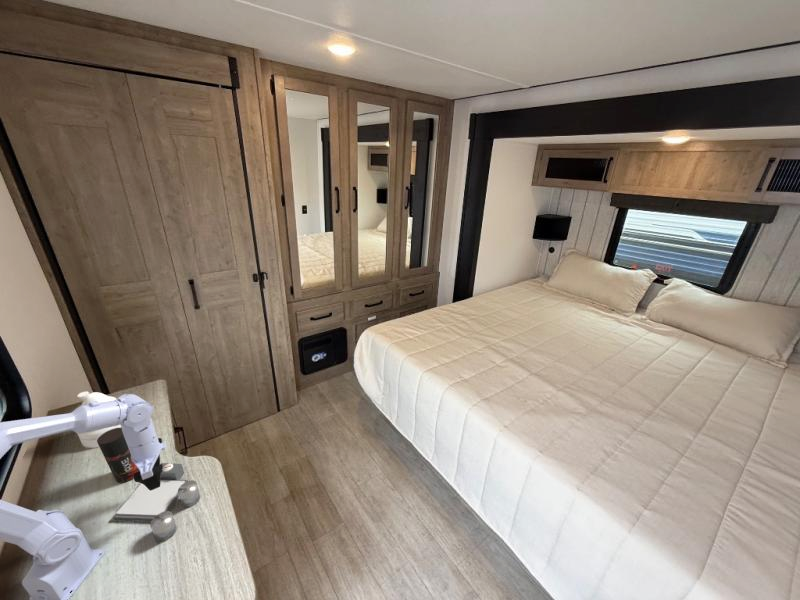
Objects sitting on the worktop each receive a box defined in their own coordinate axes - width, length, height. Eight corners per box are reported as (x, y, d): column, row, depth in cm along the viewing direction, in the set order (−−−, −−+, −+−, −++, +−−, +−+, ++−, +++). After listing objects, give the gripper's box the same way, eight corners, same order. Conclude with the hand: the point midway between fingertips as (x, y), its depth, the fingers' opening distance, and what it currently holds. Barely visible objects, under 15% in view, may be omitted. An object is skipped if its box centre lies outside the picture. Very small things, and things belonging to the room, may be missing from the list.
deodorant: (126, 484, 89) (108, 445, 83) (110, 480, 90) (91, 442, 84) (146, 466, 94) (130, 429, 89) (130, 463, 95) (113, 426, 90)
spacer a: (169, 542, 76) (164, 529, 74) (151, 541, 76) (145, 529, 74) (180, 523, 80) (176, 511, 79) (163, 523, 80) (159, 510, 78)
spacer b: (194, 508, 84) (190, 495, 82) (178, 507, 84) (173, 495, 82) (203, 492, 88) (200, 480, 86) (188, 492, 88) (184, 480, 86)
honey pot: (98, 452, 98) (79, 408, 91) (71, 441, 102) (51, 397, 95) (141, 424, 110) (126, 383, 103) (115, 414, 113) (100, 374, 106)
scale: (162, 521, 81) (158, 511, 79) (114, 520, 80) (109, 509, 79) (195, 473, 94) (192, 463, 92) (153, 472, 93) (150, 461, 92)
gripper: (162, 451, 74) (174, 490, 79) (161, 414, 85) (172, 450, 90) (123, 465, 70) (139, 505, 75) (127, 424, 81) (141, 462, 86)
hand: (155, 476), depth 82 cm, fingers open, 7 cm apart
